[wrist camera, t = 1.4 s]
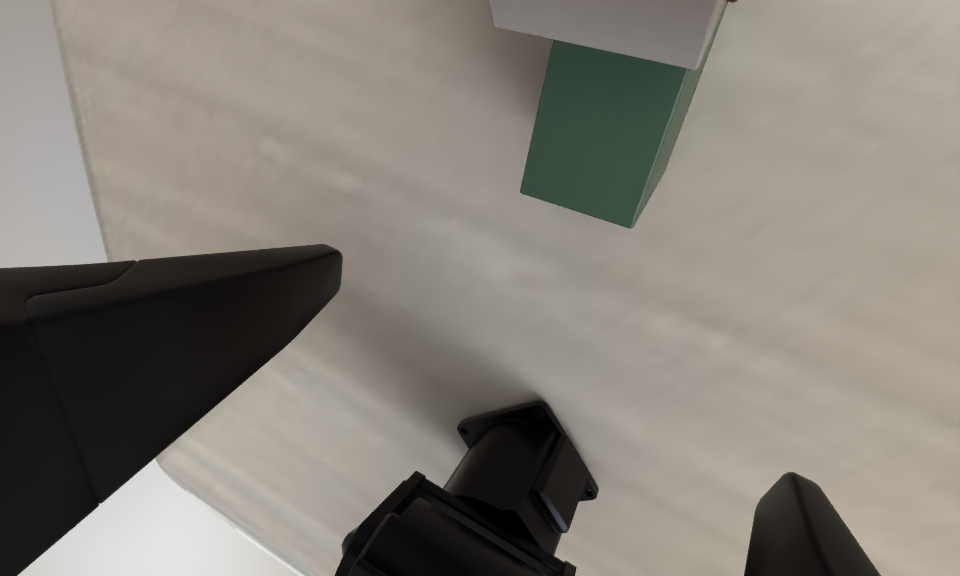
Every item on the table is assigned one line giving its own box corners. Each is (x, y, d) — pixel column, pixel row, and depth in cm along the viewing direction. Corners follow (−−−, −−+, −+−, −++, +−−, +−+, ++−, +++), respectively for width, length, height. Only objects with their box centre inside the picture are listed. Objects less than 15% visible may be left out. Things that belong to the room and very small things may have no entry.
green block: (663, 174, 19) (631, 230, 13) (580, 150, 20) (518, 193, 14) (743, -40, 15) (746, -88, 10) (637, -55, 16) (584, -108, 11)
